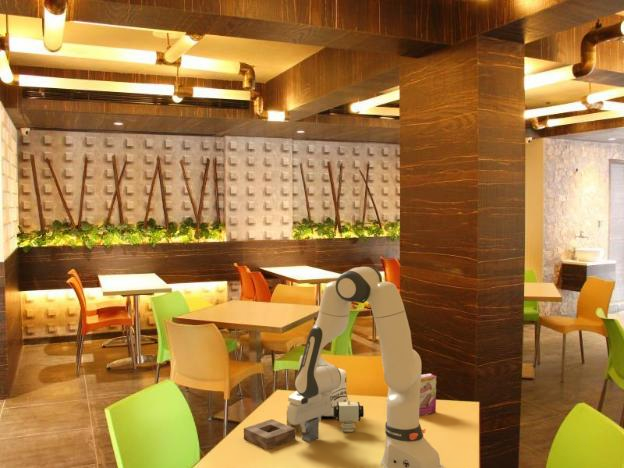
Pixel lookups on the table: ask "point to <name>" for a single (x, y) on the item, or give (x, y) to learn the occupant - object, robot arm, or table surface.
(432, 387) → the candy bar box
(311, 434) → the square bit
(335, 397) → the milk container
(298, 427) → the cross bit
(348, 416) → the pneumatic valve
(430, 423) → the table surface
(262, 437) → the block
